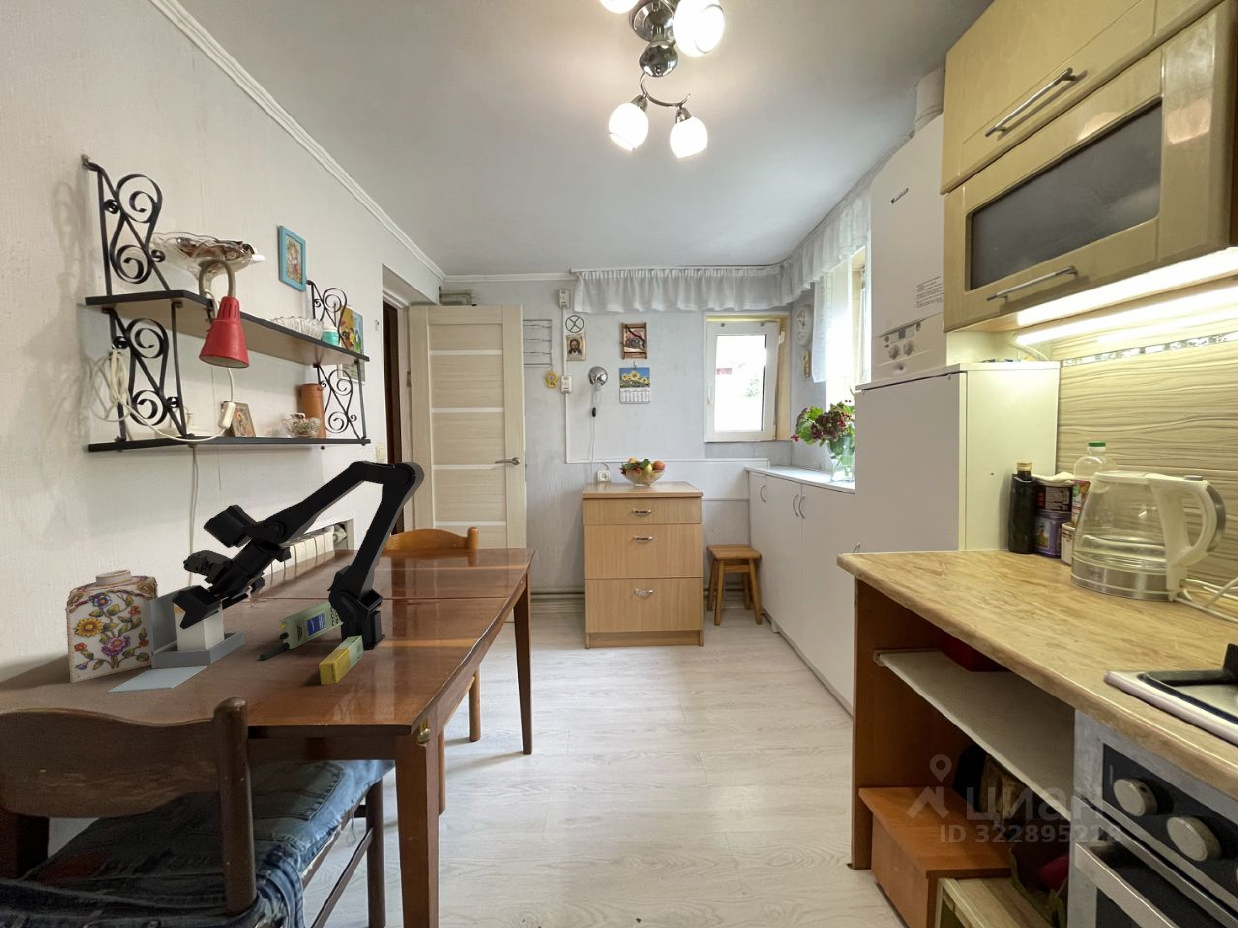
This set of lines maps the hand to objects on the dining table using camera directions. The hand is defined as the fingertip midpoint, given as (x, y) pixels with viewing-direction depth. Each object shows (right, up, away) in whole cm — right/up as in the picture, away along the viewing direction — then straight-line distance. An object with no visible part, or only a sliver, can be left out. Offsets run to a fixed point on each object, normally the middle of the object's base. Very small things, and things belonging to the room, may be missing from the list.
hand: (192, 622), depth 96 cm
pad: (+3, -7, -9) cm, 12 cm away
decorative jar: (-12, -8, -2) cm, 15 cm away
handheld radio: (+18, -7, +9) cm, 21 cm away
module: (+2, -7, 0) cm, 7 cm away
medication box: (+33, -7, -6) cm, 35 cm away
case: (+2, -7, 0) cm, 7 cm away
